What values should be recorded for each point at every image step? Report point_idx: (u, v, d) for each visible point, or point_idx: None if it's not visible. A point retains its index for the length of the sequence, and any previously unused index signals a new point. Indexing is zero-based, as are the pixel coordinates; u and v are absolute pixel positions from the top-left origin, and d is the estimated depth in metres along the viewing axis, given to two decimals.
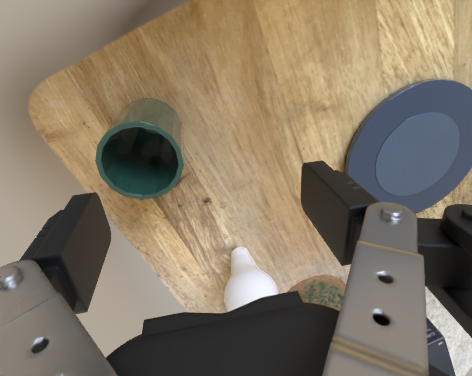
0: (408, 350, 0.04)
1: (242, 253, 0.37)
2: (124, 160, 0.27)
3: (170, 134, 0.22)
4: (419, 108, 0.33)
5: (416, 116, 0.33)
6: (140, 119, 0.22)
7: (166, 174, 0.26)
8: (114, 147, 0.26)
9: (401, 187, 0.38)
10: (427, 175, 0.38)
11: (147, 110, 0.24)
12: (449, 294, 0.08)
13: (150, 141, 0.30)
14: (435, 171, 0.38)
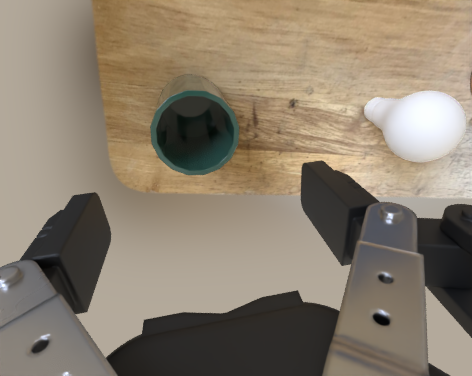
0: (408, 350, 0.04)
1: (374, 104, 0.30)
2: (198, 148, 0.27)
3: (184, 90, 0.20)
4: None
5: None
6: (157, 108, 0.21)
7: (228, 122, 0.24)
8: (181, 148, 0.26)
9: None
10: None
11: (161, 97, 0.23)
12: (449, 294, 0.08)
13: (200, 115, 0.29)
14: None
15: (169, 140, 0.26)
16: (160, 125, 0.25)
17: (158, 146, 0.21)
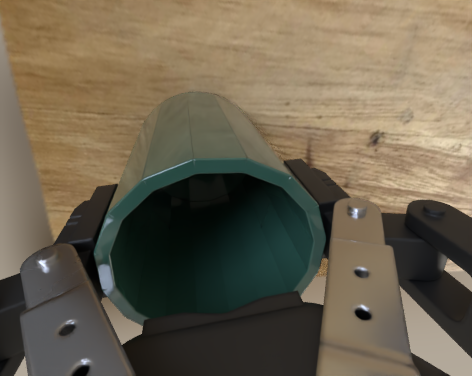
0: (408, 350, 0.04)
1: None
2: (213, 236, 0.14)
3: (188, 157, 0.07)
4: None
5: None
6: (114, 200, 0.08)
7: (284, 203, 0.11)
8: (180, 241, 0.13)
9: None
10: None
11: (133, 153, 0.10)
12: (418, 287, 0.08)
13: None
14: None
15: (155, 230, 0.13)
16: None
17: (119, 293, 0.08)
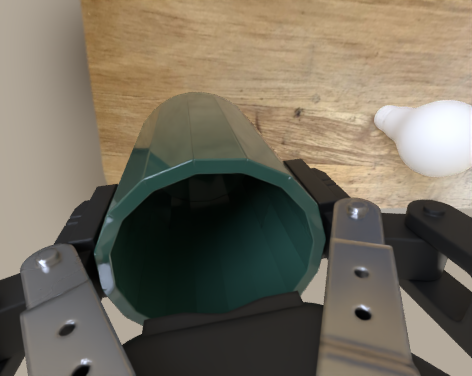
0: (408, 350, 0.04)
1: (385, 113, 0.28)
2: (213, 236, 0.14)
3: (188, 158, 0.07)
4: None
5: None
6: (114, 200, 0.08)
7: (284, 203, 0.11)
8: (180, 241, 0.13)
9: None
10: None
11: (133, 153, 0.10)
12: (418, 287, 0.08)
13: None
14: None
15: (155, 230, 0.13)
16: None
17: (120, 293, 0.08)
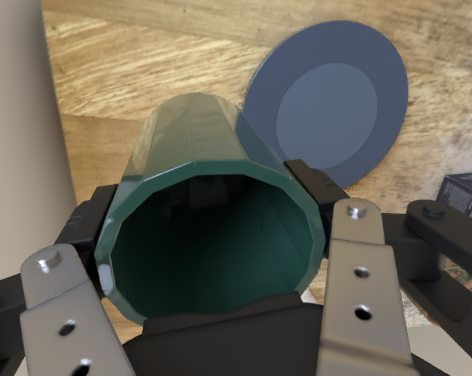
0: (408, 350, 0.04)
1: None
2: (213, 236, 0.14)
3: (188, 159, 0.07)
4: (272, 107, 0.29)
5: (278, 113, 0.29)
6: (114, 201, 0.08)
7: (284, 203, 0.11)
8: (180, 242, 0.13)
9: (350, 145, 0.32)
10: (359, 112, 0.30)
11: (133, 154, 0.10)
12: (417, 287, 0.08)
13: None
14: (362, 101, 0.30)
15: (156, 230, 0.13)
16: None
17: (120, 294, 0.08)
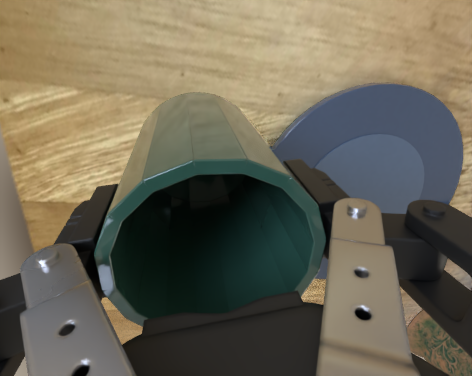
0: (408, 350, 0.04)
1: None
2: (213, 236, 0.14)
3: (188, 158, 0.07)
4: None
5: None
6: (114, 201, 0.08)
7: (284, 203, 0.11)
8: (180, 242, 0.13)
9: None
10: (402, 188, 0.24)
11: (133, 154, 0.10)
12: (417, 287, 0.08)
13: None
14: (406, 176, 0.24)
15: (155, 230, 0.13)
16: None
17: (119, 294, 0.08)
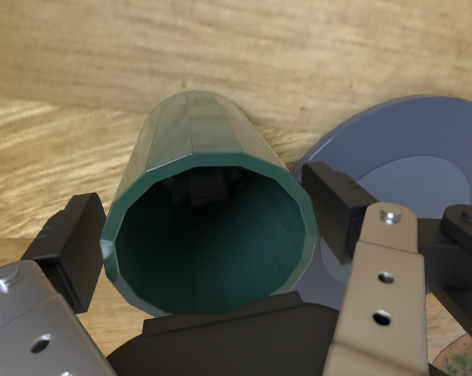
0: (408, 350, 0.04)
1: None
2: (212, 230, 0.14)
3: (187, 151, 0.07)
4: None
5: None
6: (118, 192, 0.08)
7: (280, 197, 0.11)
8: (180, 234, 0.14)
9: None
10: None
11: (135, 149, 0.11)
12: (449, 294, 0.08)
13: None
14: (449, 204, 0.20)
15: (157, 223, 0.13)
16: (137, 199, 0.12)
17: (123, 279, 0.09)
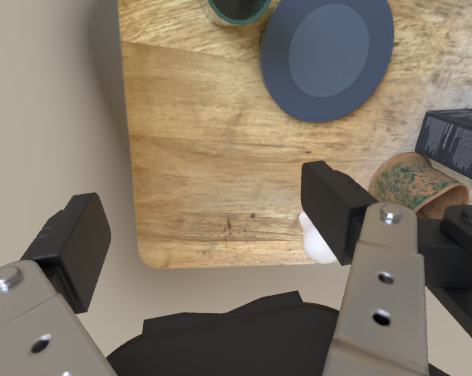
0: (408, 350, 0.04)
1: (302, 218, 0.48)
2: None
3: None
4: (285, 40, 0.36)
5: (290, 45, 0.37)
6: None
7: None
8: None
9: (347, 77, 0.40)
10: (355, 48, 0.38)
11: None
12: (449, 294, 0.08)
13: (234, 0, 0.34)
14: (357, 38, 0.38)
15: None
16: None
17: None
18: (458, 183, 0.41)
